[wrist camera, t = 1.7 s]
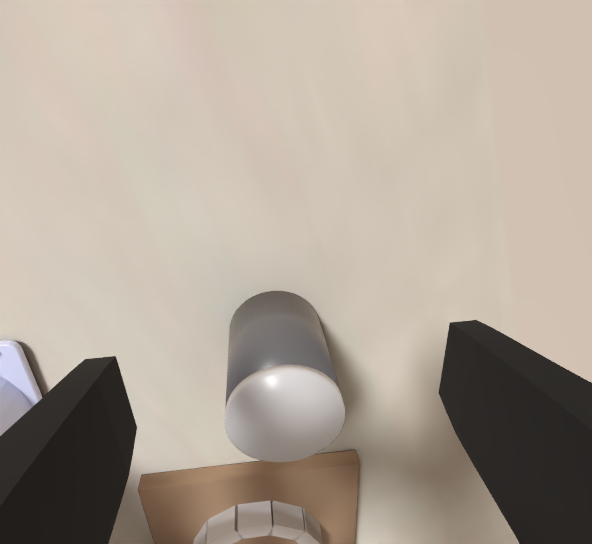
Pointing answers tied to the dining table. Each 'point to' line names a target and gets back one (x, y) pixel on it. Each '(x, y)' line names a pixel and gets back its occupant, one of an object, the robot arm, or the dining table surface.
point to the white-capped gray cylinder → (280, 380)
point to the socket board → (255, 502)
